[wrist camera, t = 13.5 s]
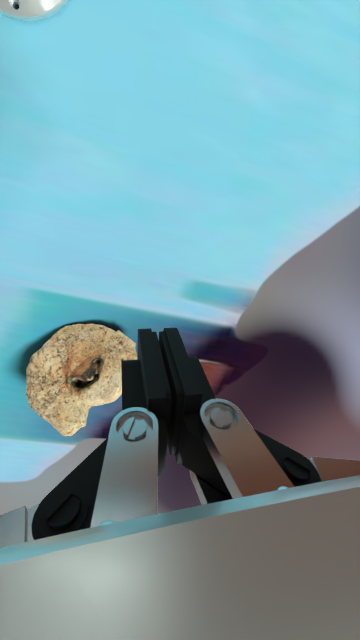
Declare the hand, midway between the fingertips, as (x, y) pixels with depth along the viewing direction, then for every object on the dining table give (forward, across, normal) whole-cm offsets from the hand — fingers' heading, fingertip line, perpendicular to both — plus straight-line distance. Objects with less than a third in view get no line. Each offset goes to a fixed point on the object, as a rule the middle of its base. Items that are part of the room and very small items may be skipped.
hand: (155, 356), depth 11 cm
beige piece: (+30, +8, +24) cm, 39 cm away
